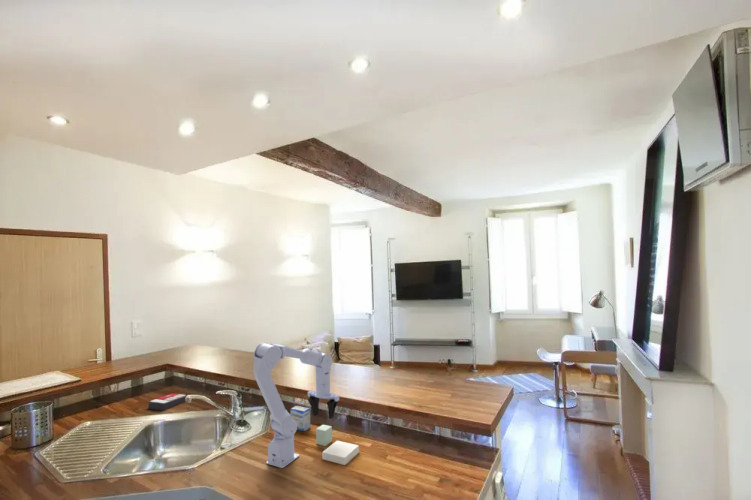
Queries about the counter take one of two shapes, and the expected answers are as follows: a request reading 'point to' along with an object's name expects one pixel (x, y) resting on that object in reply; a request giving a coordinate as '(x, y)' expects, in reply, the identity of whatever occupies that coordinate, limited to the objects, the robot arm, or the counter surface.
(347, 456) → the white block
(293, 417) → the medicine box
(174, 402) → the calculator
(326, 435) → the sage block
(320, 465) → the counter surface
